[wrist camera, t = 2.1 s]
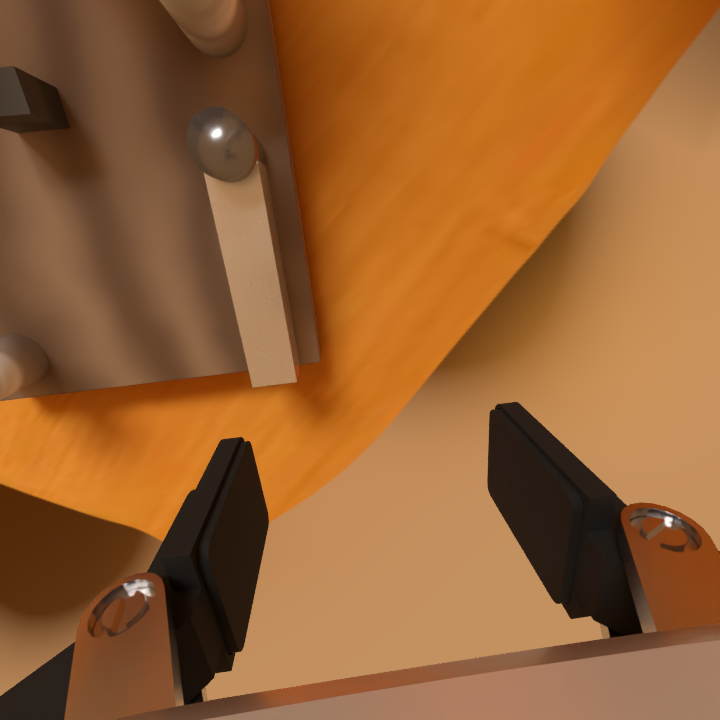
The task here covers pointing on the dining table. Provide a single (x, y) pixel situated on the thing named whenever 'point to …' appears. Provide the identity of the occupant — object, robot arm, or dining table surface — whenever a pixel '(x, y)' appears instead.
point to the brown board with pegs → (130, 190)
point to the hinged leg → (247, 241)
